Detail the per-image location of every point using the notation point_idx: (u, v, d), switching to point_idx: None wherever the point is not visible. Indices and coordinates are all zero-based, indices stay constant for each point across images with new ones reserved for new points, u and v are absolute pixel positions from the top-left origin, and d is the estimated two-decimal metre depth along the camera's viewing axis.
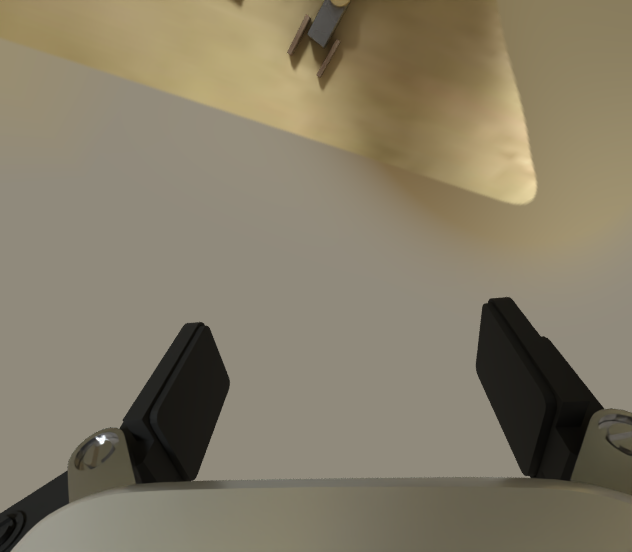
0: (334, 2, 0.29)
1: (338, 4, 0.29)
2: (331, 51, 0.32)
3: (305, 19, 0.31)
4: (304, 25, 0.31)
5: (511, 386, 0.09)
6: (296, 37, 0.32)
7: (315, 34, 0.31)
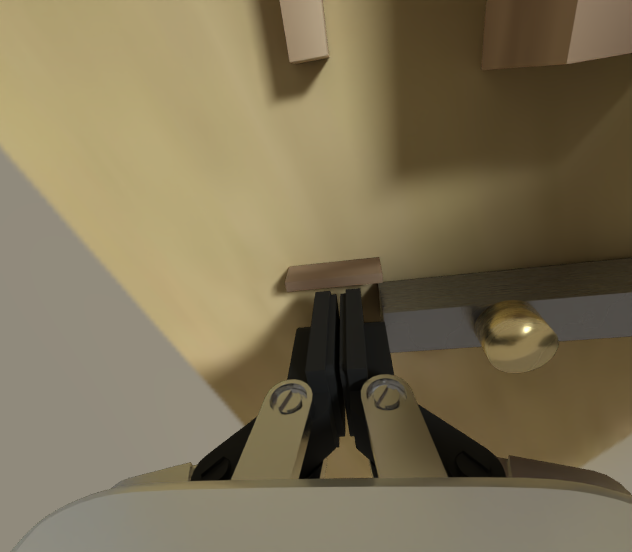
0: (490, 351, 0.10)
1: (492, 360, 0.11)
2: None
3: (372, 277, 0.12)
4: (360, 282, 0.12)
5: None
6: (326, 282, 0.12)
7: (396, 327, 0.12)
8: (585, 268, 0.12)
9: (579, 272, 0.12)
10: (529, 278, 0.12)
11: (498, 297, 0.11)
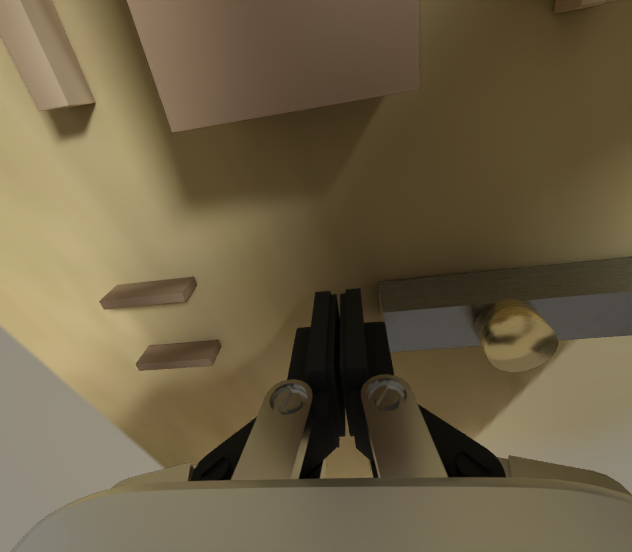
0: (490, 351, 0.10)
1: (491, 360, 0.11)
2: (187, 363, 0.15)
3: (174, 296, 0.13)
4: (165, 301, 0.13)
5: None
6: (136, 300, 0.13)
7: (395, 327, 0.12)
8: (584, 267, 0.12)
9: (578, 271, 0.12)
10: (528, 277, 0.12)
11: (497, 296, 0.11)
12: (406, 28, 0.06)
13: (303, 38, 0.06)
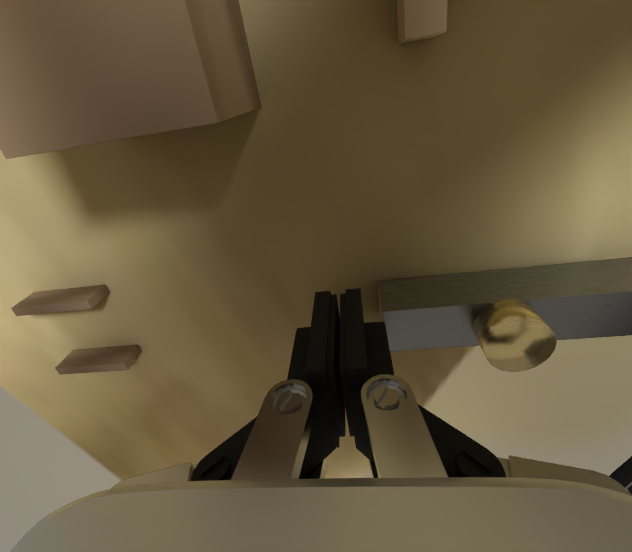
0: (488, 350, 0.10)
1: (490, 359, 0.11)
2: (103, 367, 0.15)
3: (80, 304, 0.13)
4: (73, 308, 0.14)
5: None
6: (45, 307, 0.14)
7: (394, 326, 0.12)
8: (583, 267, 0.12)
9: (577, 271, 0.12)
10: (527, 277, 0.12)
11: (496, 296, 0.11)
12: (192, 69, 0.06)
13: (103, 77, 0.07)
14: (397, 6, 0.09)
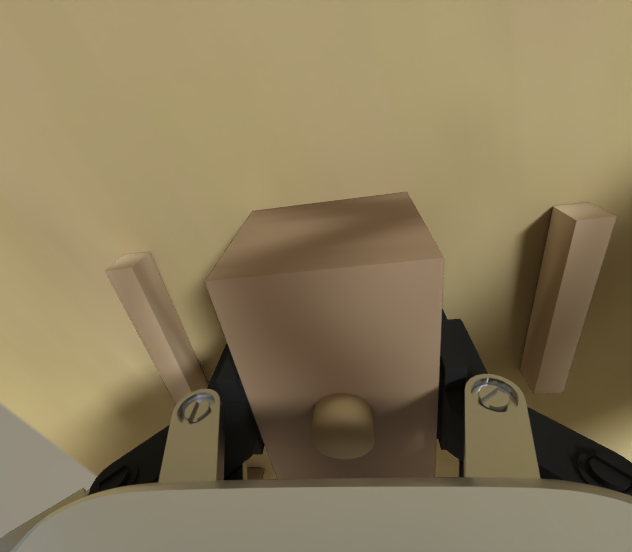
0: None
1: None
2: None
3: None
4: None
5: None
6: None
7: None
8: None
9: None
10: None
11: None
12: None
13: None
14: (523, 356, 0.13)
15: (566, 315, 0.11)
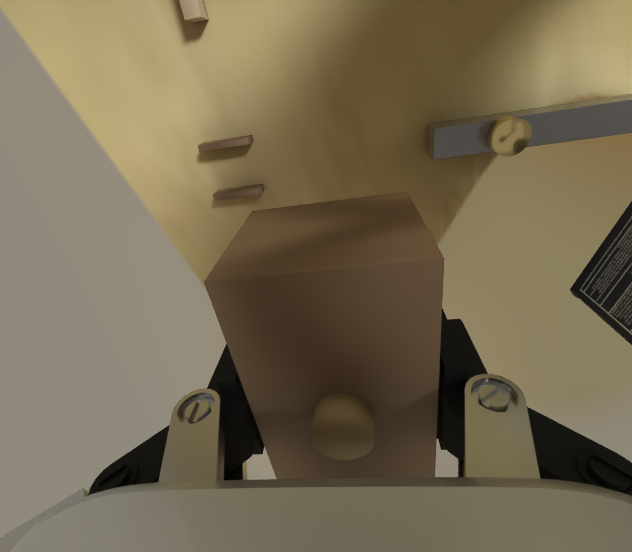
0: (495, 140, 0.19)
1: (495, 147, 0.19)
2: (245, 192, 0.24)
3: (242, 141, 0.22)
4: (237, 144, 0.22)
5: None
6: (219, 144, 0.22)
7: (441, 139, 0.20)
8: (549, 107, 0.21)
9: (545, 108, 0.20)
10: (517, 112, 0.21)
11: (499, 118, 0.20)
12: None
13: None
14: None
15: None
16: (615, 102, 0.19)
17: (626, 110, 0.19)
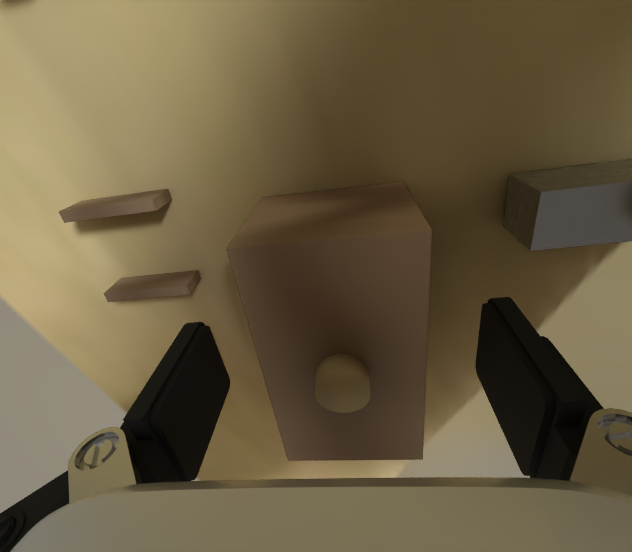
0: None
1: None
2: (161, 291, 0.13)
3: (143, 204, 0.11)
4: (133, 210, 0.11)
5: (511, 386, 0.09)
6: (100, 210, 0.12)
7: (552, 213, 0.09)
8: None
9: None
10: None
11: None
12: (416, 442, 0.12)
13: (364, 441, 0.12)
14: None
15: None
16: None
17: None
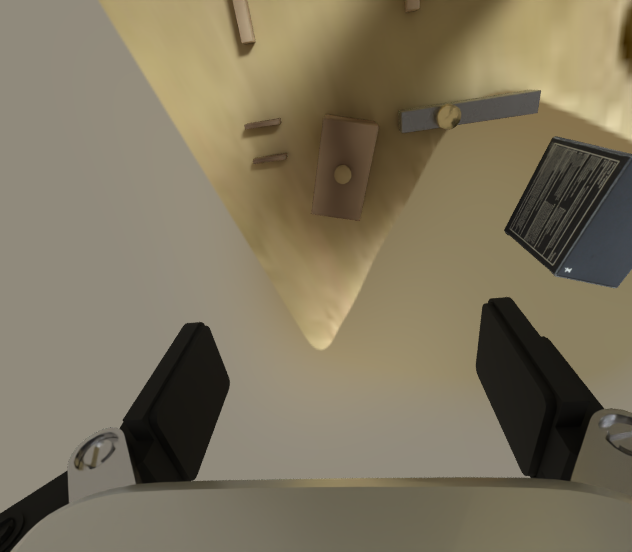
0: (438, 119, 0.30)
1: (439, 123, 0.30)
2: (275, 158, 0.35)
3: (275, 121, 0.33)
4: (271, 124, 0.33)
5: (511, 386, 0.09)
6: (259, 124, 0.33)
7: (406, 119, 0.31)
8: (476, 98, 0.32)
9: (474, 99, 0.31)
10: (455, 102, 0.32)
11: (443, 105, 0.31)
12: (359, 211, 0.34)
13: (342, 207, 0.34)
14: (405, 0, 0.29)
15: None
16: (514, 95, 0.30)
17: (521, 99, 0.30)
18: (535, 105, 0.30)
